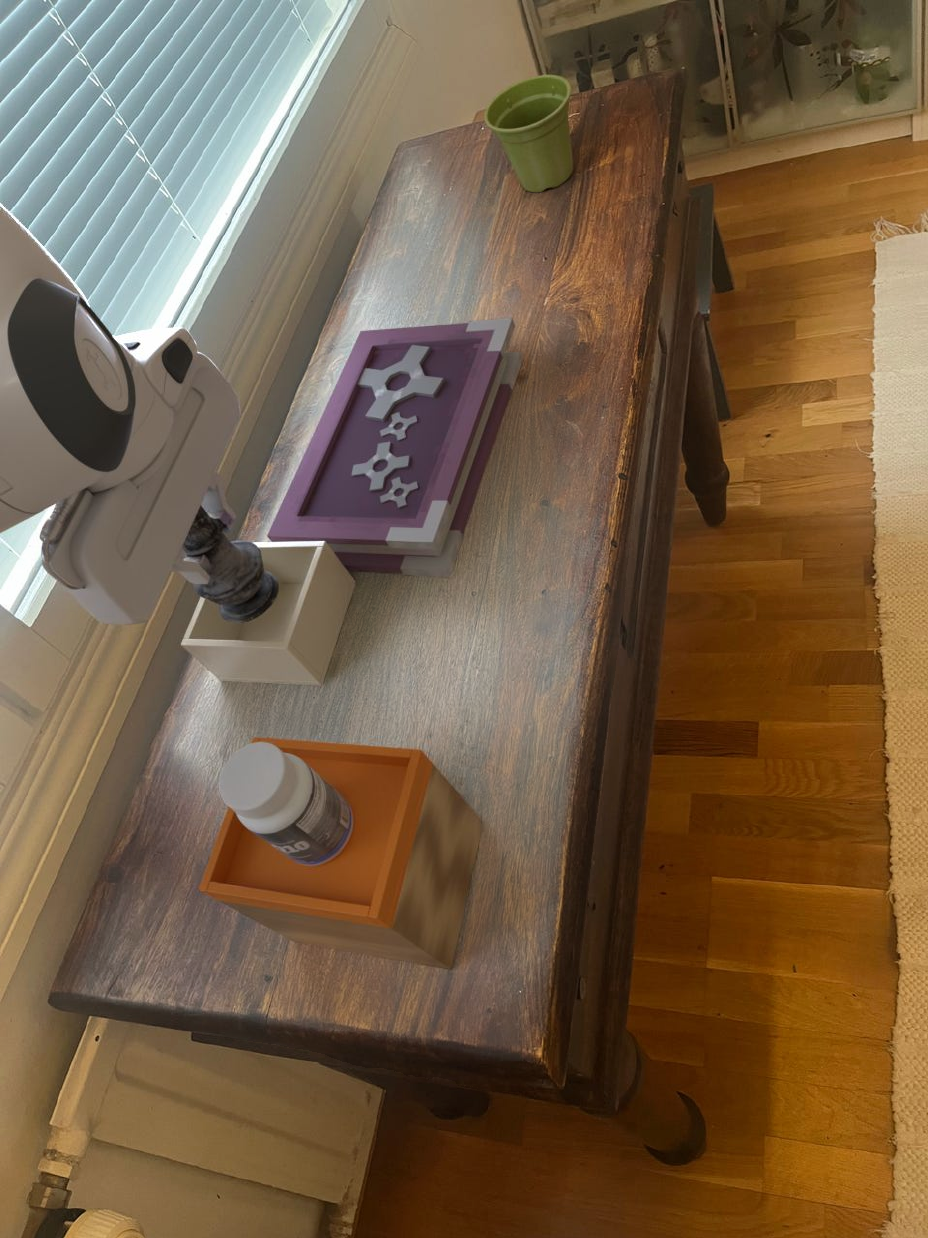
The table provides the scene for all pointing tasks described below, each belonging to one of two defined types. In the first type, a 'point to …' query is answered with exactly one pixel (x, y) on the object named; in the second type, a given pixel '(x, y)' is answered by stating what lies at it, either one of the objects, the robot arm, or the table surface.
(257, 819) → the pill bottle
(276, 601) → the cream bin
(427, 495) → the book
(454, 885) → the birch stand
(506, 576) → the table surface
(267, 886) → the amber tray
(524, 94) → the plant pot
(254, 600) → the chess bishop
